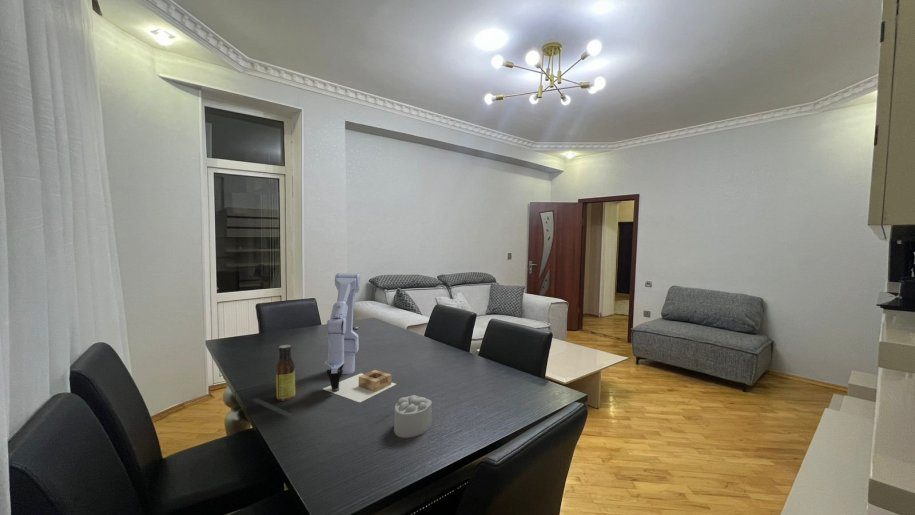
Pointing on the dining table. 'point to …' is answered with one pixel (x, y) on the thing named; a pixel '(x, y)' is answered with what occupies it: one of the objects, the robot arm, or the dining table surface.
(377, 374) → the square wooden ring
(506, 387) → the dining table surface
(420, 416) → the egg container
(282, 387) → the sauce bottle
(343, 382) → the board
